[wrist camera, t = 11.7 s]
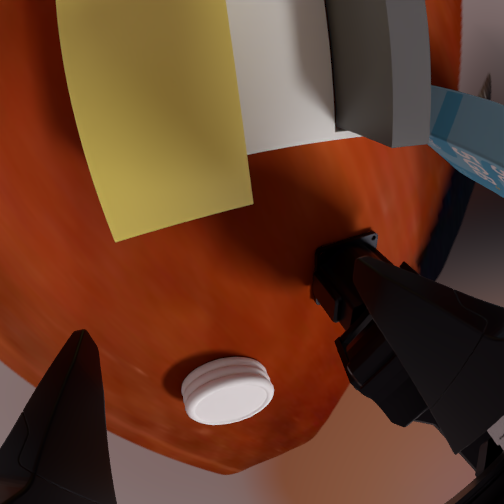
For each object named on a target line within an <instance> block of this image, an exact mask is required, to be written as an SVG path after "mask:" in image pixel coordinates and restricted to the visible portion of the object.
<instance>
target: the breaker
mask: <svg viewBox="0 0 504 504" xmlns="http://www.w3.org/2000/svg"><path fill="white" fill-rule="evenodd" d="M325 1H326V8H327V15H328V23H329V32H330V41H331V51H332V62H333V74H334V89H335V106H336V127H339V128H342V129H345V130H348V131H350V132H353V133H356V134H358V135H361V136H364V137H366V138H369V139H371V140H374V141H376V142H379V143H381V144H384V145H386V146H389V147H391V148H396V147H404V146H413V145H423V144H429V134H430V114H431V64H430V45H429V33H428V23H427V14H426V6H425V0H325Z"/></svg>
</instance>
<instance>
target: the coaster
mask: <svg viewBox="0 0 504 504" xmlns="http://www.w3.org/2000/svg"><path fill="white" fill-rule="evenodd" d="M181 392H182V395H183V401H184V404H185V410H186V412H187V414H188V416H189V417H190V418H192V419H193V420H195V421H197V422H200V423H203V424H209V425H221V424H229V423H234V422H237V421H241V420H243V419H246V418H248V417H251V416H253V415H254V414H256V413H258V412H259V411H261V410H262V409H263V408H264V407H266V406H267V405H268V403H269V402H270V401H271V399H272V397H273V394H274V388H273V385H272V383H271V382H270V378H269V376H268V375H267V372H266V369H265V367H264V366H263V365H262V364H261V363H260V362H258V361H256V360H254V359H251V358H246V357H227V358H221V359H217V360H214V361H211V362H208V363H206V364H204V365H202V366H200V367H198V368H196V369H195V370H193V371H192V372H191V373H190V374H189V375H188V376H187V377H186V378H185V379H184V381H183V384H182V389H181Z"/></svg>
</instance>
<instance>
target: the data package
mask: <svg viewBox="0 0 504 504" xmlns="http://www.w3.org/2000/svg"><path fill="white" fill-rule="evenodd" d="M428 145H429V146H430V147H431V148H433V149H434V150H435V151H436V152H437V153H438V154H440V155H441V156H442V157H443V158H444V159H445V160H446V161H448V162H449V163H450V164H451V165H452V166H453V167H454V168H455V169H457V170H458V171H459V172H461V173H462V174H464V175H465V176H467V177H469V178H470V179H472V180H474V181H476V182H478V183H480V184H481V185H483V186H485V187H487V188H488V189H490V190H492V191H494V192H495V193H497V194H499V195H500V196H502V197H504V105H502V104H499V103H496V102H493V101H490V100H487V99H484V98H480V97H477V96H473V95H470V94H466V93H462V92H459V91H455V90H451V89H447V88H442V87H438V86H433V85H431V114H430V134H429V144H428Z"/></svg>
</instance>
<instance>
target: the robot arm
mask: <svg viewBox="0 0 504 504" xmlns="http://www.w3.org/2000/svg"><path fill="white" fill-rule="evenodd" d="M377 239H378V235H377V234H376V233H375V232H374V231H371V232H368V233H365V234H362V235H358V236H355V237H352V238H349V239H346V240H342V241H339V242H336V243H333V244H329V245H326V246H323V247H320V248H318V249H317V250H316V252H315V271H314V274H313V294H314V301H315V302H316V304H317V305H320V304H321V306H322V307H323V308H324V310H325V311H326V313H327V314H328V315H329V317H330V318H331V320H332V321H333V322H335V323H337V322H340V324H341V325H342V326H343V328H344V329H345V330H346V331H345V332H344V333H343V334H342V335H341V337H338V338H337V339H336V340H335V344H336V347H337V350H338V353H339V355H340V358H341V360H342V363H343V366H344V368H345V371H346V373H347V376H348V379H349V381H350V383H351V384H352V385H353V386H354V388H355V389H356V390H358V391H360V392H361V393H362V394H363V395H365V396H366V397H368V398H371V399H372V400H373V401H374V402H375V403H376V404H377V405H378V406H379V407H380V408H381V409H382V410H383V412H384V413H385V414H386V416H387V417H388V418H389V419H390V421H391V422H392V423H394V424H397V425H399V426H402V427H406V426H408V425H409V424H410V423H411V422H413V421H416V422H422V423H426V424H431V425H434V426H435V427H436V428H437V429H438V430H439V431H440V433H441V434H442V435H443V436H444V437H445V438H446V440H447V441H448V443H449V445H450V447H451V449H452V451H453V452H454V454H455V455H456V454H457V453H459V454H460V455H461V456H462V457H463V458H464V459H465V460H466V461H467V462H468V464H469V465H470V466H471V467H472V468H473V469H474V470H475V471H476V473H475V475H476V478H475V479H474V480H473V481H472V482H471V483H470V484H469V485H467V486H466V487H465V488H464V489H463V490H461V491H460V492H459V493H458V494H457V495H455V496H454V497H453V498H451V499H450V500H449V501H448V502H446V503H445V504H504V308H503V307H500V306H498V305H494V304H492V303H488V302H486V301H483V300H480V299H477V298H474V297H472V296H469V295H467V294H464V293H462V292H459V291H457V290H453V289H452V288H449V287H447V286H444V285H442V284H439V283H437V282H435V281H432V280H430V279H427V278H425V277H422V276H420V275H419V274H418V273H417V272H416V271H415V270H414V269H412V268H411V267H410V266H409V265H408V264H407V263H406V262H403V263H402V264H401V265H400V268H399V267H396V266H394V265H393V264H392V263H391V262H390V261H389V260H388V259H387V258H386V257H385V256H383V255H382V254H381V253H380V252H379V251H378V250H377V249H376V246H377ZM322 252H323V253H322ZM321 253H322V254H321ZM0 504H117V502H116V497H115V491H114V485H113V479H112V473H111V466H110V458H109V451H108V442H107V430H106V418H105V401H104V390H103V382H102V375H101V367H100V358H99V351H98V347H97V345H96V344H95V342H94V341H93V339H92V338H91V336H90V335H89V333H88V332H87V330H85V329H82V330H77V331H74V332H73V333H72V335H71V336H70V338H69V339H68V340H67V342H66V343H65V345H64V346H63V348H62V349H61V351H60V352H59V354H58V355H57V357H56V358H55V360H54V361H53V363H52V364H51V366H50V367H49V369H48V370H47V372H46V373H45V375H44V377H43V378H42V380H41V381H40V383H39V385H38V386H37V388H36V389H35V391H34V393H33V394H32V396H31V398H30V399H29V401H28V403H27V404H26V406H25V408H24V410H23V412H22V413H21V415H20V416H19V418H18V420H17V422H16V423H15V425H14V427H13V429H12V430H11V432H10V434H9V435H8V437H7V438H6V440H5V442H4V443H3V445H2V446H1V448H0Z"/></svg>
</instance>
